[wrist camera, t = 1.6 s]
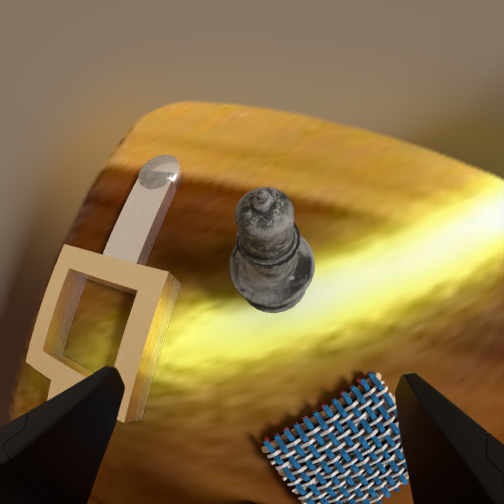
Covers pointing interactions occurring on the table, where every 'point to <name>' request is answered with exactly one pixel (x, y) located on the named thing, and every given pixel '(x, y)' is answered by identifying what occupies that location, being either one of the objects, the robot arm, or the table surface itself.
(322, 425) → the woven mat
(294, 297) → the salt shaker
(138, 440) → the table surface
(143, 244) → the cream handled frame
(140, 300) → the square wooden loop
